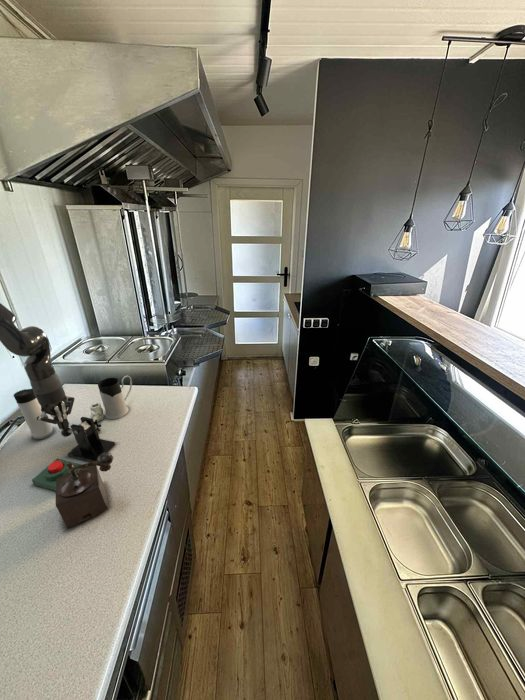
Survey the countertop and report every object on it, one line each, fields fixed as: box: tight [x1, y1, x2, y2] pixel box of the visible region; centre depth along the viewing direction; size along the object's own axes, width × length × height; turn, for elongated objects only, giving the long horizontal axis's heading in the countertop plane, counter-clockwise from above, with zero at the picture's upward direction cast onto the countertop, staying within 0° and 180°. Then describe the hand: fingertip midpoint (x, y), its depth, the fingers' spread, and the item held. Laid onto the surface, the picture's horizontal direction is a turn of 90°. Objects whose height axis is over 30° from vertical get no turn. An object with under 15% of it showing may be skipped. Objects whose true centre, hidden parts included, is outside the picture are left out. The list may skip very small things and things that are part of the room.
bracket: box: [67, 416, 116, 463], centre depth 99 cm, size 12×9×13 cm
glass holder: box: [97, 375, 133, 420], centre depth 120 cm, size 9×14×15 cm, turn 151°
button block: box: [31, 457, 82, 492], centre depth 91 cm, size 11×9×4 cm
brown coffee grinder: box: [55, 452, 114, 529], centre depth 80 cm, size 16×11×18 cm
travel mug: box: [13, 388, 54, 440], centre depth 105 cm, size 6×7×20 cm
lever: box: [60, 421, 90, 438], centre depth 99 cm, size 13×3×3 cm, turn 73°
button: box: [47, 460, 63, 474], centre depth 90 cm, size 4×4×2 cm
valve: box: [89, 402, 105, 432], centre depth 113 cm, size 7×7×12 cm
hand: (65, 428), depth 101 cm, fingers closed
